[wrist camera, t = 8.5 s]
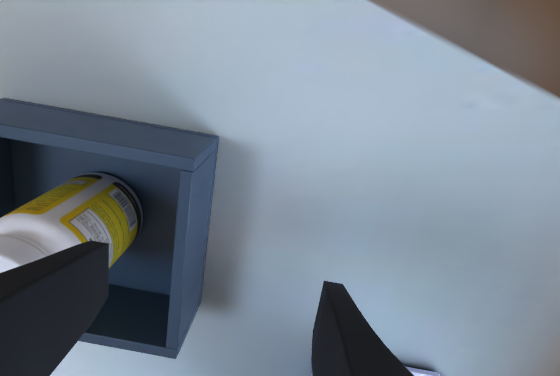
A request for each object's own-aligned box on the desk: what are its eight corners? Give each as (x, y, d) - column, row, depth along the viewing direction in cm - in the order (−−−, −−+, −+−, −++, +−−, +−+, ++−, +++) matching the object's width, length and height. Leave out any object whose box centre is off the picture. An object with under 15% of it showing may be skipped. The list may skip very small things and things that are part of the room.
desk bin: (200, 303, 24) (176, 359, 20) (16, 269, 25) (-48, 317, 20) (219, 135, 21) (194, 158, 16) (4, 97, 21) (-78, 110, 17)
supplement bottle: (53, 225, 23) (-83, 318, 15) (76, 155, 21) (-63, 217, 13) (130, 261, 23) (36, 369, 15) (157, 194, 22) (69, 277, 14)
